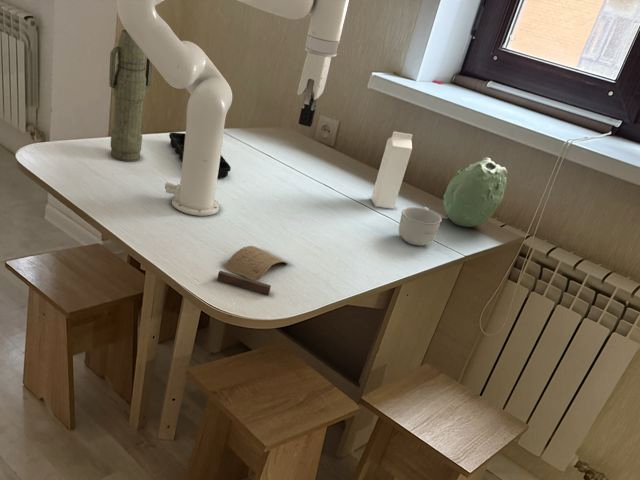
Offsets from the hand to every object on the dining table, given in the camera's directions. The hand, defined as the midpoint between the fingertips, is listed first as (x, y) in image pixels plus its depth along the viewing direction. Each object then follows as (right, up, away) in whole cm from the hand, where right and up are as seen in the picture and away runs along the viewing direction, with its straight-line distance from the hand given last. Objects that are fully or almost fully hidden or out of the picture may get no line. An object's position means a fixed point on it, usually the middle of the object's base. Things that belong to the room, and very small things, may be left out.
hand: (305, 124), depth 167 cm
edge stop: (-15, -42, -16) cm, 47 cm away
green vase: (+50, -18, +39) cm, 66 cm away
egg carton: (-30, +3, +43) cm, 53 cm away
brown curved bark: (-12, -36, -7) cm, 38 cm away
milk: (+26, -11, +41) cm, 50 cm away
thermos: (-51, +2, +36) cm, 63 cm away
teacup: (+33, -25, +23) cm, 47 cm away
